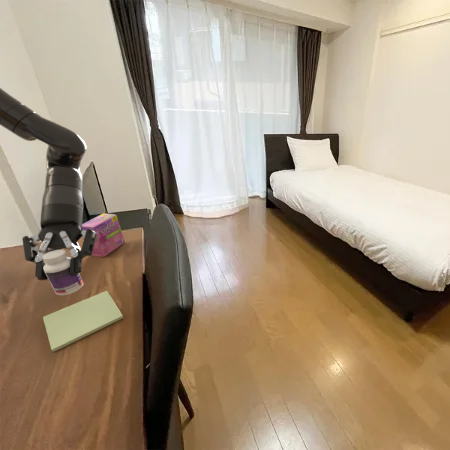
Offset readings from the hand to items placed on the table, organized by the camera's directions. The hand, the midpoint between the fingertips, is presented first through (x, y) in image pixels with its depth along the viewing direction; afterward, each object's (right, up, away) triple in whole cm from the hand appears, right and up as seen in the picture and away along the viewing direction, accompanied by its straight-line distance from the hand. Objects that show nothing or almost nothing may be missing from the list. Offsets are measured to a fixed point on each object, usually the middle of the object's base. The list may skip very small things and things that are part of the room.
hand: (58, 277), depth 61 cm
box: (-15, +3, +38) cm, 41 cm away
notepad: (0, -12, +8) cm, 14 cm away
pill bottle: (0, -4, +4) cm, 5 cm away
